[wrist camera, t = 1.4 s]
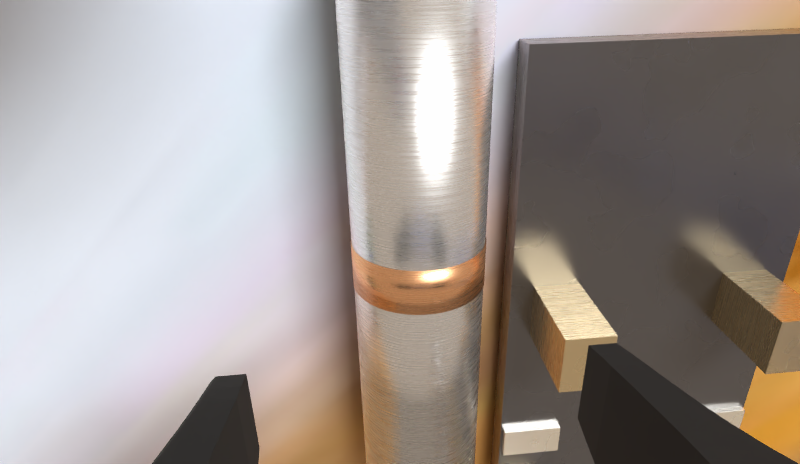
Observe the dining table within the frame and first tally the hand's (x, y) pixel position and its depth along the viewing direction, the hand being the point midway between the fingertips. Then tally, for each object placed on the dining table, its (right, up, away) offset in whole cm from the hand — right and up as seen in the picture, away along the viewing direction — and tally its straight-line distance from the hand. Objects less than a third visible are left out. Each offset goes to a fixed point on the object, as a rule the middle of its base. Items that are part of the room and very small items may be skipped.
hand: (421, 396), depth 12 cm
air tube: (-1, +3, +7) cm, 8 cm away
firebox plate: (+8, -4, +12) cm, 15 cm away
